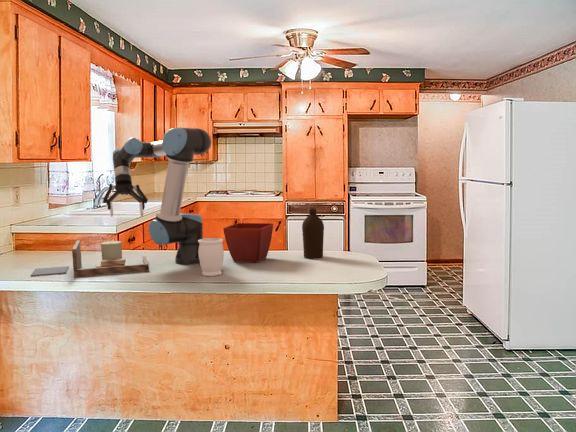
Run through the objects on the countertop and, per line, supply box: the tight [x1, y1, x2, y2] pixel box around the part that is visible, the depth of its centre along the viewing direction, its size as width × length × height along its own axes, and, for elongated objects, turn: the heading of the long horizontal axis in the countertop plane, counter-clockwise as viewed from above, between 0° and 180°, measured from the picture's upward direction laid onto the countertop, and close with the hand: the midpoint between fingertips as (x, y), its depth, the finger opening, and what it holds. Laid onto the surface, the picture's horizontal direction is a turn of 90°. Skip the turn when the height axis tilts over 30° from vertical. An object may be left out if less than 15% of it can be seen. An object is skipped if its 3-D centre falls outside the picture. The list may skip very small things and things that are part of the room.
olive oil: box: [301, 205, 325, 260], centre depth 253 cm, size 11×11×25 cm
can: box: [100, 240, 123, 261], centre depth 239 cm, size 9×9×12 cm
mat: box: [30, 265, 69, 277], centre depth 232 cm, size 14×14×1 cm
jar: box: [198, 237, 225, 277], centre depth 220 cm, size 11×10×15 cm
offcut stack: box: [95, 258, 127, 268], centre depth 230 cm, size 15×5×5 cm, turn 108°
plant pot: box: [223, 222, 274, 263], centre depth 249 cm, size 19×19×17 cm
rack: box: [71, 239, 150, 278], centre depth 237 cm, size 31×26×12 cm
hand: (127, 215), depth 241 cm, fingers open, 13 cm apart
